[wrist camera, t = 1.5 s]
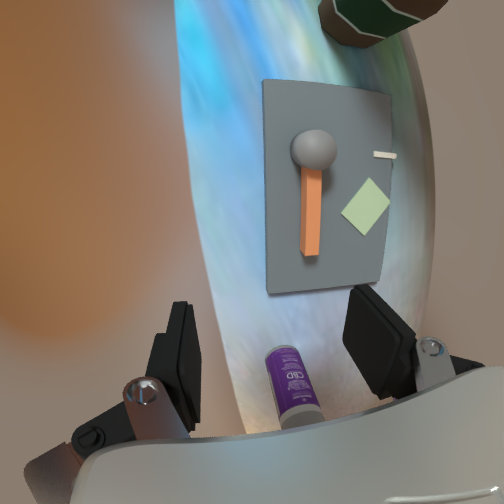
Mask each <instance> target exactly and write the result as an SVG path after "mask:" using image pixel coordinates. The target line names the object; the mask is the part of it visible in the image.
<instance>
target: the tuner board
mask: <svg viewBox="0 0 504 504" xmlns="http://www.w3.org/2000/svg"><path fill="white" fill-rule="evenodd" d="M262 106H263V140H264V183H265V244H266V290H267V293H268V294H273V293H283V292H293V291H303V290H312V289H321V288H330V287H338V286H346V285H354V284H362V283H369V282H377V281H380V275H381V269H382V263H383V256H384V249H385V242H386V234H387V225H388V215H389V204H390V202H391V201H390V190H391V170H392V159H396V154H395V153H392V114H391V95H388V94H384V93H379V92H374V91H369V90H364V89H359V88H353V87H347V86H340V85H333V84H325V83H317V82H307V81H294V80H277V79H263V81H262ZM310 130H323V131H325V132H327V133H329V134H330V135H331V136H332V137H333V139H334V140H335V142H336V145H337V157H336V159H335V161H334V163H333V164H332V165H331V166H330V167H328V168H327V169H324V170H322V183H321V218H320V240H319V255H310V256H305V255H304V254H303V253H302V251H301V250H300V228H301V166H299V165H297V164H296V163H295V162H294V161H293V159H292V157H291V154H290V144H291V141H292V139H293V138H294V137H295V136H296V135H297V134H299V133H301V132H305V131H310Z"/></svg>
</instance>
